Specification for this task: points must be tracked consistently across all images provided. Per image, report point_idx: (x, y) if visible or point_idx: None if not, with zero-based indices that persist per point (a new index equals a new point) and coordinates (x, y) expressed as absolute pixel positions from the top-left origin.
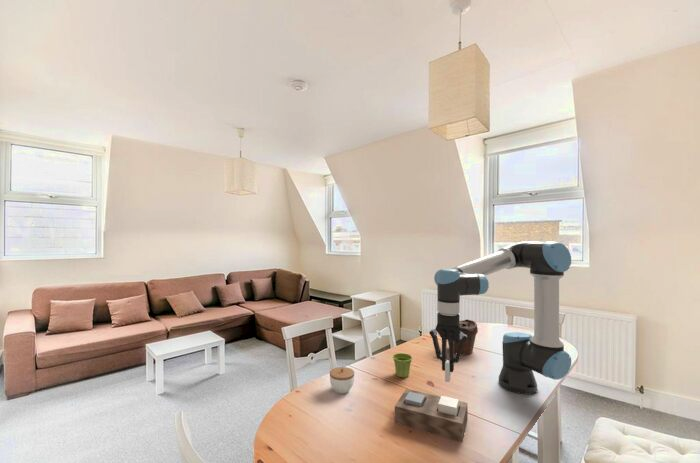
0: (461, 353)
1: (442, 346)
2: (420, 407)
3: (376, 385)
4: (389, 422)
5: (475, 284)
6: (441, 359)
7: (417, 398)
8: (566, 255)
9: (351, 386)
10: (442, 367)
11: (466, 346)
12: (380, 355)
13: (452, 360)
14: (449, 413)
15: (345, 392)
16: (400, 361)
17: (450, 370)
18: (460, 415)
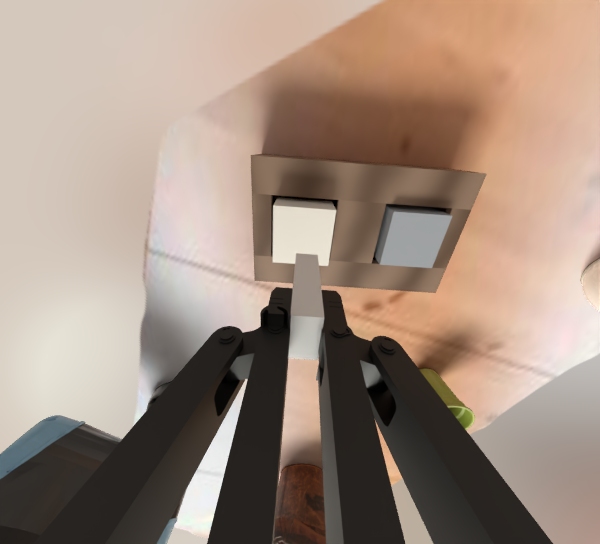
0: (299, 466)
1: (381, 483)
2: (392, 200)
3: (492, 321)
4: (467, 164)
5: None
6: (355, 341)
7: (405, 235)
8: None
9: (595, 276)
10: (338, 301)
11: (289, 486)
12: (472, 429)
13: (262, 335)
14: (297, 201)
15: (597, 261)
16: (450, 404)
17: (287, 292)
18: (263, 204)
